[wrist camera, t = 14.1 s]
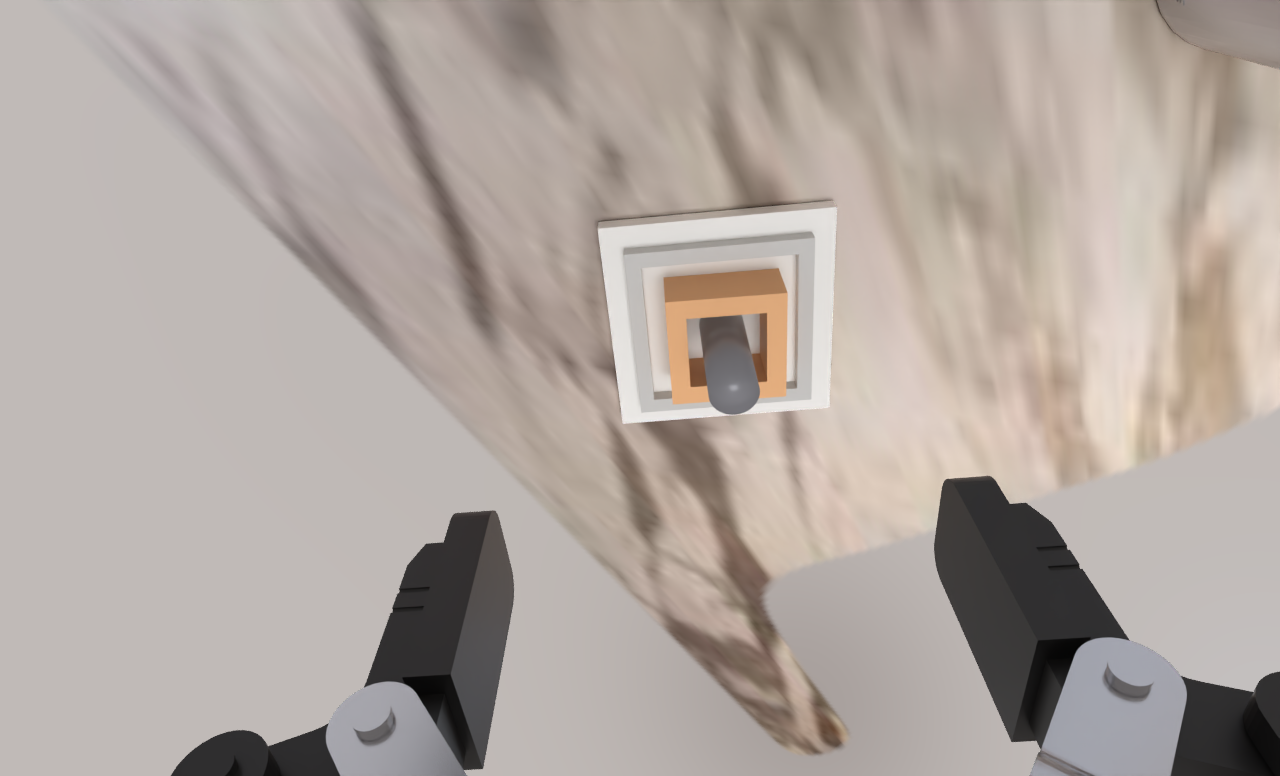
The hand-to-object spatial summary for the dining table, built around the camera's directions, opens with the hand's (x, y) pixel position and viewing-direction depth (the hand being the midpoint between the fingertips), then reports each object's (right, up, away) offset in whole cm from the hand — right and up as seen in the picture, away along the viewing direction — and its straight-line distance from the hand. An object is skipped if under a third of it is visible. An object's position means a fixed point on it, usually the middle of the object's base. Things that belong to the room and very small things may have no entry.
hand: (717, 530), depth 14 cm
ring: (+3, +6, +28) cm, 29 cm away
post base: (+3, +7, +29) cm, 30 cm away
